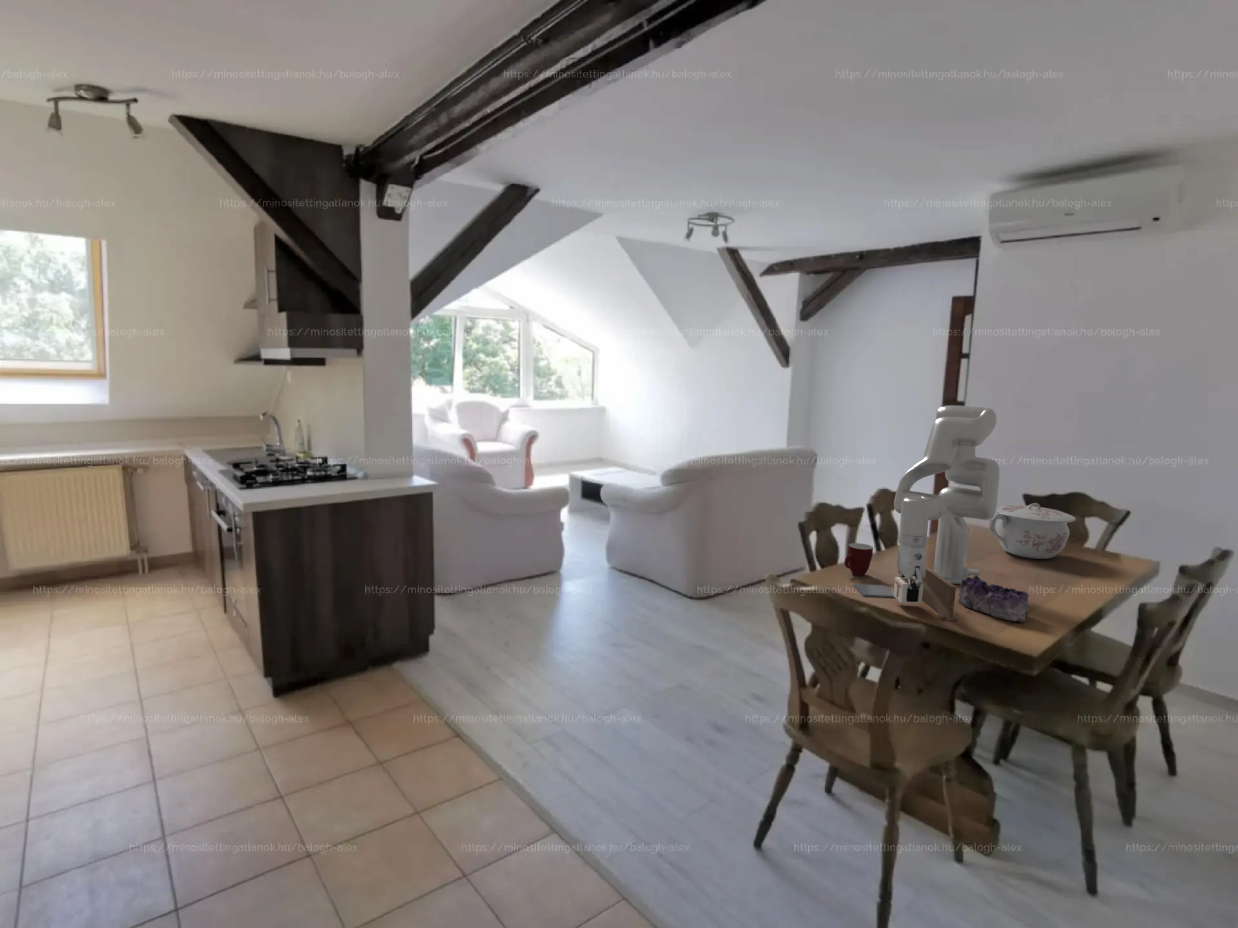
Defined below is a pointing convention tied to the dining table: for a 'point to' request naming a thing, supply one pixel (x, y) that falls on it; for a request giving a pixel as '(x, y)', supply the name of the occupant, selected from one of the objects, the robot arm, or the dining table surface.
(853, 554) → the mug
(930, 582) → the screen
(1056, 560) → the dining table surface
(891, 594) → the tile
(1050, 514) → the chamber pot
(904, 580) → the cube
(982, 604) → the geode
